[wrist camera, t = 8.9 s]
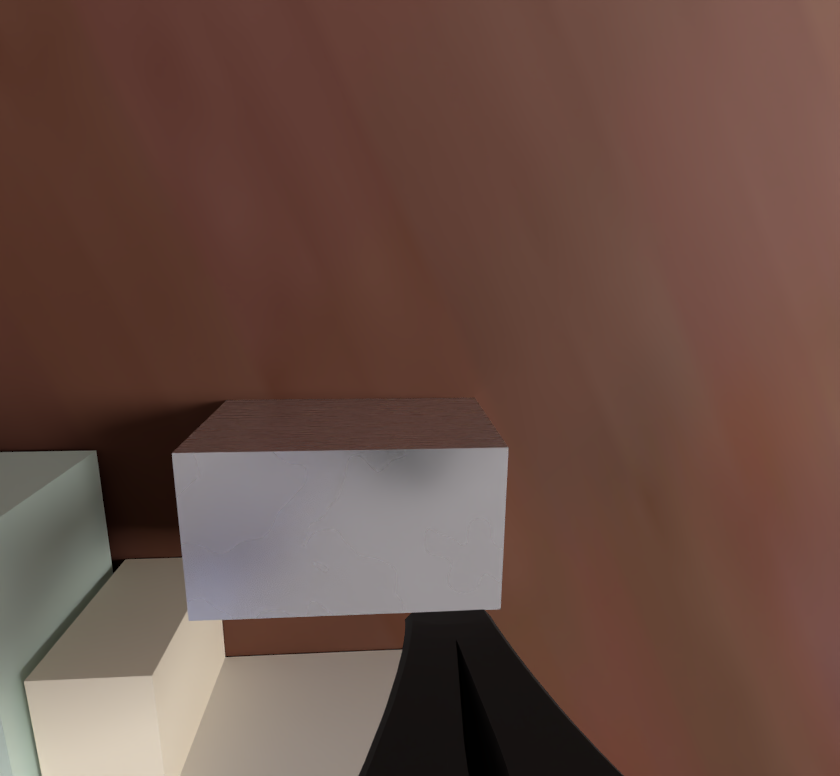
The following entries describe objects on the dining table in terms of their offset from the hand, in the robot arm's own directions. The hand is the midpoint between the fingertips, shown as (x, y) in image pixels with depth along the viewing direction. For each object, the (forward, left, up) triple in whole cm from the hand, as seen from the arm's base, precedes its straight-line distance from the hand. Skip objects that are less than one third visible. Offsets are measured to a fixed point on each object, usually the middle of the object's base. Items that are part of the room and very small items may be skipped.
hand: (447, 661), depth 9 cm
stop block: (0, +2, -10) cm, 10 cm away
